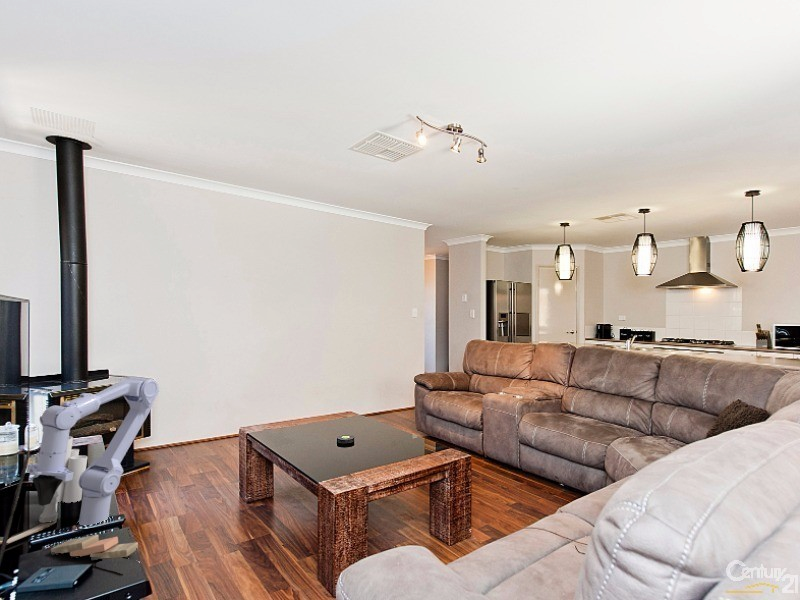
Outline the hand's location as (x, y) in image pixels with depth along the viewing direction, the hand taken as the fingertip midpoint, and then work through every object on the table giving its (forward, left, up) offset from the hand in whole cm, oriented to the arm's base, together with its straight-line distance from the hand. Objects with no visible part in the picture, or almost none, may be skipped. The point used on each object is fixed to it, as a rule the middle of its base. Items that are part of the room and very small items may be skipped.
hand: (44, 504), depth 119 cm
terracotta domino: (+8, +10, -10) cm, 16 cm away
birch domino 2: (+11, +14, -10) cm, 20 cm away
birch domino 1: (+5, +6, -10) cm, 12 cm away
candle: (-34, -1, -11) cm, 35 cm away
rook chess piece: (-17, -1, -11) cm, 20 cm away
